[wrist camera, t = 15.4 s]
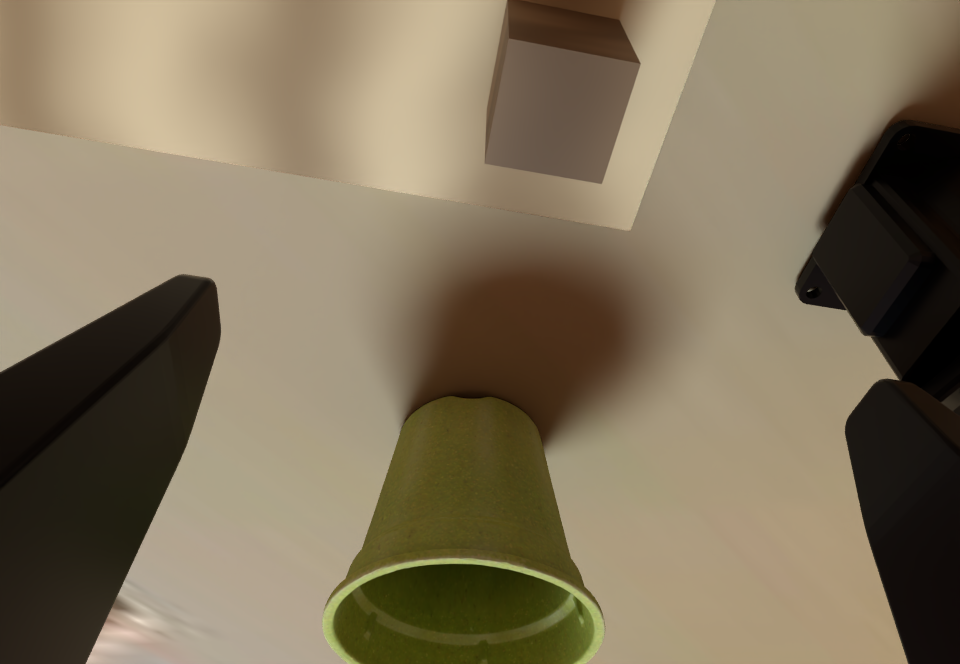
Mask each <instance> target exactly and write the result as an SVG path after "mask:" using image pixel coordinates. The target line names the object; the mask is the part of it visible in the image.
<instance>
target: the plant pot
mask: <svg viewBox="0 0 960 664" xmlns="http://www.w3.org/2000/svg"><path fill="white" fill-rule="evenodd" d="M322 627H323V632H324V635H325V638H326V640H327V642H328V643H329V645H330V646H331V648H332V649H333V650H334V651H335V652H336V653H337V654H338V655H339V656H340V657H341V658H342V659H343V660H344V661H345V662H347V663H349V664H586V663H587V662H588V661H589V660H590V659H591V658H592V657H593V656H594V655H595V654H596V652H597V650H598V649H599V647H600V645H601V644H602V642H603V639H604V635H605V623H604V618H603V614H602V611H601V608H600V606H599V604H598V602H597V601H596V599H595V597H594V596H593V595H592V594H591V592H589V591H588V590H587V589H586V588H585V587H584V584H583V580H582V577H581V574H580V572H579V570H578V568H577V566H576V565H575V563H574V562H573V560H572V559H571V557H570V553H569V549H568V546H567V542H566V538H565V534H564V530H563V526H562V522H561V518H560V514H559V510H558V506H557V502H556V498H555V495H554V491H553V487H552V483H551V479H550V474H549V470H548V466H547V461H546V457H545V454H544V450H543V446H542V441H541V438H540V434H539V432H538V429H537V427H536V425H535V424H534V422H533V421H532V420H531V418H530V417H529V416H528V415H527V414H525V413H524V412H523V411H522V410H520V409H519V408H517V407H516V406H514V405H512V404H510V403H508V402H506V401H503V400H500V399H497V398H493V397H485V398H480V399H465V398H459V397H455V396H447V397H443V398H440V399H437V400H434V401H431V402H429V403H427V404H425V405H424V406H422V407H420V408H419V409H418V410H416V411H415V412H414V413H413V414H412V415H411V416H410V417H409V418H408V419H407V421H406V422H405V423H404V425H403V427H402V430H401V432H400V435H399V439H398V442H397V445H396V448H395V451H394V454H393V457H392V460H391V463H390V466H389V469H388V473H387V475H386V478H385V481H384V484H383V487H382V490H381V493H380V497H379V500H378V503H377V506H376V509H375V512H374V515H373V518H372V521H371V524H370V527H369V529H368V532H367V535H366V538H365V541H364V544H363V547H362V550H361V551H360V552H359V553H358V554H357V556H356V557H355V559H354V560H353V562H352V564H351V566H350V568H349V571H348V574H347V576H346V579H345V580H343V581H342V582H341V583H340V584H339V585H338V586H337V587H336V588H335V590H334V591H333V592H332V594H331V595H330V597H329V599H328V601H327V603H326V606H325V609H324V613H323V618H322Z"/></svg>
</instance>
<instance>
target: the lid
mask: <svg viewBox="0 0 960 664" xmlns="http://www.w3.org/2000/svg"><path fill="white" fill-rule="evenodd" d="M715 2H716V0H0V125H3V126H9V127H15V128H21V129H27V130H33V131H39V132H45V133H51V134H57V135H62V136H68V137H74V138H80V139H86V140H92V141H98V142H104V143H110V144H116V145H122V146H128V147H134V148H140V149H146V150H152V151H158V152H164V153H169V154H175V155H181V156H187V157H193V158H199V159H205V160H211V161H217V162H223V163H229V164H235V165H241V166H247V167H253V168H259V169H265V170H271V171H276V172H282V173H288V174H294V175H300V176H306V177H312V178H318V179H324V180H330V181H336V182H342V183H348V184H354V185H360V186H366V187H372V188H378V189H383V190H389V191H395V192H401V193H407V194H413V195H419V196H425V197H431V198H437V199H443V200H449V201H455V202H461V203H467V204H473V205H479V206H485V207H490V208H496V209H502V210H508V211H514V212H520V213H526V214H532V215H538V216H544V217H550V218H556V219H562V220H568V221H574V222H580V223H586V224H592V225H597V226H603V227H609V228H615V229H621V230H627V231H630V230H631V228H632V225H633V222H634V219H635V217H636V214H637V211H638V209H639V206H640V203H641V201H642V198H643V195H644V193H645V190H646V187H647V185H648V182H649V179H650V176H651V174H652V171H653V168H654V166H655V163H656V160H657V158H658V155H659V152H660V150H661V147H662V144H663V141H664V139H665V136H666V133H667V131H668V128H669V125H670V123H671V120H672V117H673V115H674V112H675V109H676V107H677V104H678V101H679V98H680V96H681V93H682V90H683V88H684V85H685V82H686V80H687V77H688V74H689V72H690V69H691V66H692V63H693V61H694V58H695V55H696V53H697V50H698V47H699V45H700V42H701V39H702V37H703V34H704V31H705V28H706V26H707V23H708V20H709V18H710V15H711V12H712V10H713V7H714V4H715Z"/></svg>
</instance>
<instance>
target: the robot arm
mask: <svg viewBox="0 0 960 664" xmlns="http://www.w3.org/2000/svg"><path fill="white" fill-rule="evenodd" d="M906 134H910V136H909V138H908V139H907V140H906V141H905V142H904V143H902V144H898V141H899V140H900V138H901V137H902V136H904V135H906ZM812 255H813V256H812V258H811V259H810V261H809V263H808V265H807V266H806V268H805V270H804V271H803V273H802V275H801V276H800V278H799V280H798V282H797V283H796V286H795V292H796V294H797V296H798V298H799V299H800V300H801V301H802V302H803V303H806V304H810V305H816V306H822V307H829V308H835V309H841V310H847V311H848V313H849V315H850V316H851V318H852V319H853V321H854V322H855V324H856V325H857V327H858V328H859V330H860V332H861V333H862V334H863V335H864V336H870V337H871V338H872V340H873V341H874V343H875V344H876V346H877V347H878V349H879V350H880V352H881V353H882V355H883V356H884V358H885V359H886V361H887V362H888V364H889V365H890V367H891V368H892V370H893V372H894V373H895V375H896V376H897V378H898V379H899V380H893V379H881V380H879V381H877V382H876V383H874V385H873V386H872V387H871V388H870V389H869V391H868V392H867V393H866V395H865V396H864V397H863V398H862V400H861V401H860V402H859V404H858V405H857V406H856V407H855V409H854V410H853V411H852V413H851V414H850V415H849V417H848V419H847V421H846V426H845V436H846V441H847V445H848V450H849V455H850V460H851V465H852V469H853V474H854V479H855V484H856V488H857V493H858V498H859V503H860V508H861V512H862V517H863V521H864V525H865V529H866V533H867V537H868V540H869V543H870V547H871V550H872V553H873V556H874V559H875V562H876V566H877V569H878V572H879V575H880V578H881V581H882V584H883V587H884V590H885V593H886V596H887V600H888V603H889V606H890V609H891V612H892V615H893V618H894V621H895V624H896V627H897V631H898V634H899V637H900V640H901V643H902V646H903V649H904V652H905V655H906V658H907V661H908V664H960V129H955V128H950V127H944V126H939V125H934V124H929V123H923V122H918V121H913V120H903V121H900V122H897V123H895V124H894V125H892V126H891V127H890V128H889V129H888V130H887V131H886V132H885V134H884V135H883V137H882V139H881V141H880V142H879V144H878V146H877V147H876V149H875V151H874V152H873V154H872V156H871V158H870V159H869V161H868V163H867V164H866V166H865V168H864V169H863V171H862V173H861V175H860V176H859V178H858V180H857V181H856V183H855V185H854V186H853V187H852V188H851V189H849V191H848V192H847V194H846V196H845V197H844V199H843V201H842V203H841V204H840V206H839V208H838V209H837V211H836V213H835V214H834V216H833V218H832V220H831V221H830V223H829V225H828V226H827V228H826V230H825V232H824V233H823V235H822V237H821V238H820V240H819V242H818V243H817V245H816V247H815V249H814V250H813V252H812ZM812 287H816V288H815V289H814V290H812V291H810V292H807V291H808V290H809V289H810V288H812ZM220 336H221V324H220V314H219V304H218V294H217V287H216V285H215V282H214V281H213V280H212V279H210V278H206V277H200V276H193V275H186V274H181V275H177V276H175V277H173V278H171V279H170V280H168V281H166V282H164V283H162V284H160V285H159V286H157V287H155V288H153V289H151V290H149V291H148V292H146V293H144V294H142V295H140V296H139V297H137V298H135V299H133V300H131V301H129V302H128V303H126V304H124V305H122V306H120V307H118V308H117V309H115V310H113V311H111V312H109V313H108V314H106V315H104V316H102V317H100V318H98V319H97V320H95V321H93V322H91V323H89V324H87V325H86V326H84V327H82V328H80V329H78V330H76V331H75V332H73V333H71V334H69V335H67V336H66V337H64V338H62V339H60V340H58V341H56V342H55V343H53V344H51V345H49V346H47V347H45V348H44V349H42V350H40V351H38V352H36V353H35V354H33V355H31V356H29V357H27V358H25V359H24V360H22V361H20V362H18V363H16V364H14V365H13V366H11V367H9V368H7V369H5V370H4V371H2V372H0V664H86V662H87V660H88V657H89V655H90V653H91V651H92V649H93V647H94V645H95V642H96V640H97V638H98V636H99V634H100V632H101V630H102V627H103V625H104V623H105V621H106V619H107V617H108V614H109V612H110V610H111V608H112V606H113V604H114V602H115V599H116V597H117V595H118V593H119V591H120V589H121V587H122V584H123V582H124V580H125V578H126V576H127V574H128V572H129V569H130V567H131V565H132V563H133V561H134V559H135V556H136V554H137V552H138V550H139V548H140V546H141V544H142V541H143V539H144V537H145V535H146V533H147V531H148V529H149V526H150V524H151V522H152V520H153V518H154V516H155V514H156V511H157V509H158V507H159V505H160V503H161V501H162V498H163V496H164V494H165V492H166V490H167V488H168V486H169V483H170V481H171V479H172V477H173V475H174V473H175V471H176V468H177V466H178V464H179V462H180V460H181V457H182V455H183V453H184V450H185V448H186V446H187V443H188V440H189V437H190V434H191V431H192V428H193V425H194V422H195V419H196V416H197V412H198V409H199V406H200V403H201V400H202V397H203V394H204V391H205V387H206V384H207V381H208V378H209V375H210V372H211V369H212V366H213V362H214V359H215V356H216V353H217V350H218V347H219V342H220Z"/></svg>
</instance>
